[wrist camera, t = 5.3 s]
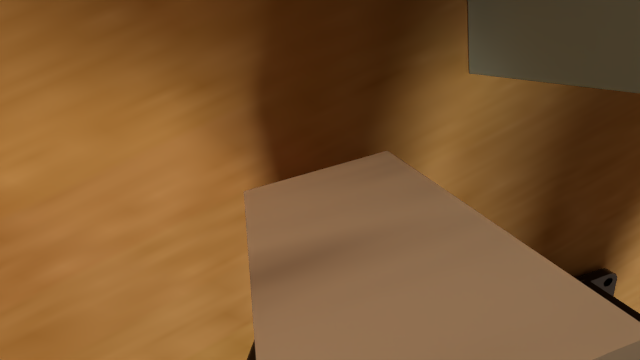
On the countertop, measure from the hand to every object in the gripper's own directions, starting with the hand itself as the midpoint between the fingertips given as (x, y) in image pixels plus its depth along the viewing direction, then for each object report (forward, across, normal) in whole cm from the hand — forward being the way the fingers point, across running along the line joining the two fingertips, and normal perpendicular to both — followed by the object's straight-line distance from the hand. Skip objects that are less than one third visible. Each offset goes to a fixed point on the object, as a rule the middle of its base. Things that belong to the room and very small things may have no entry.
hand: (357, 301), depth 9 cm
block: (+2, 0, 0) cm, 2 cm away
